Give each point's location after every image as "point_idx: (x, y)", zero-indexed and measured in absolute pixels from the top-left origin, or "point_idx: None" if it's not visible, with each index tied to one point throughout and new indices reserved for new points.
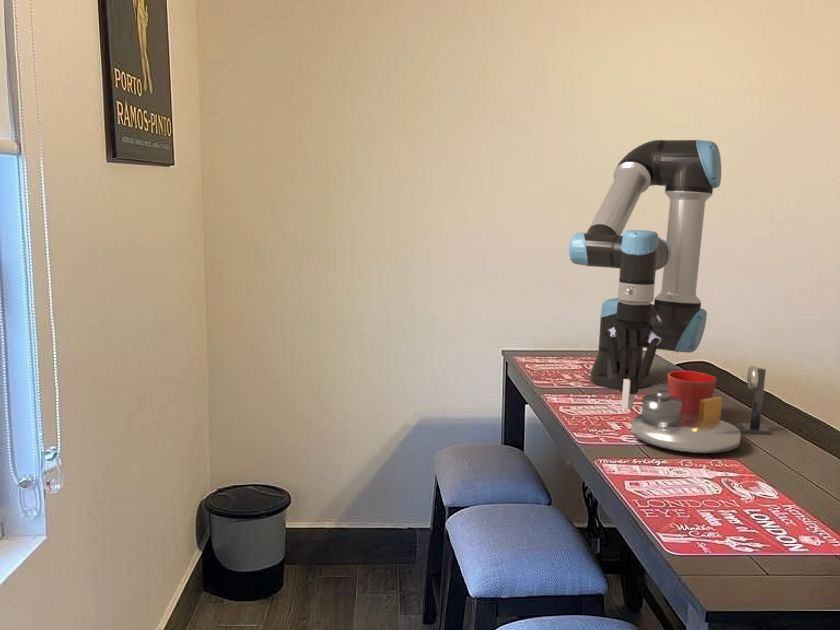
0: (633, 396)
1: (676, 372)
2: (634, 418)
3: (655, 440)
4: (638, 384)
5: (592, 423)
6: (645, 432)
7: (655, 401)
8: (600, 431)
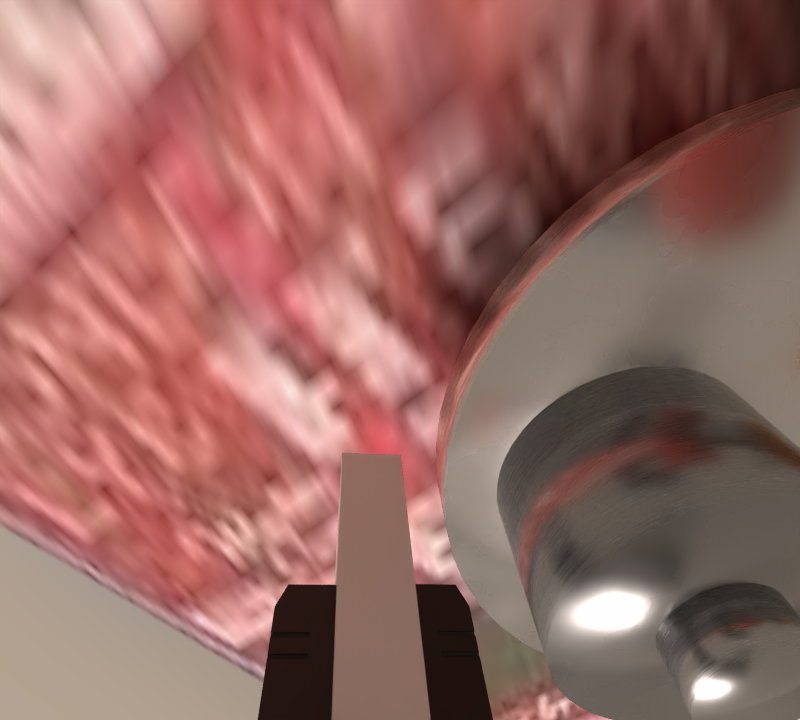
0: (407, 531)
1: None
2: (453, 517)
3: None
4: (485, 686)
5: (161, 446)
6: None
7: (666, 697)
8: (282, 534)
